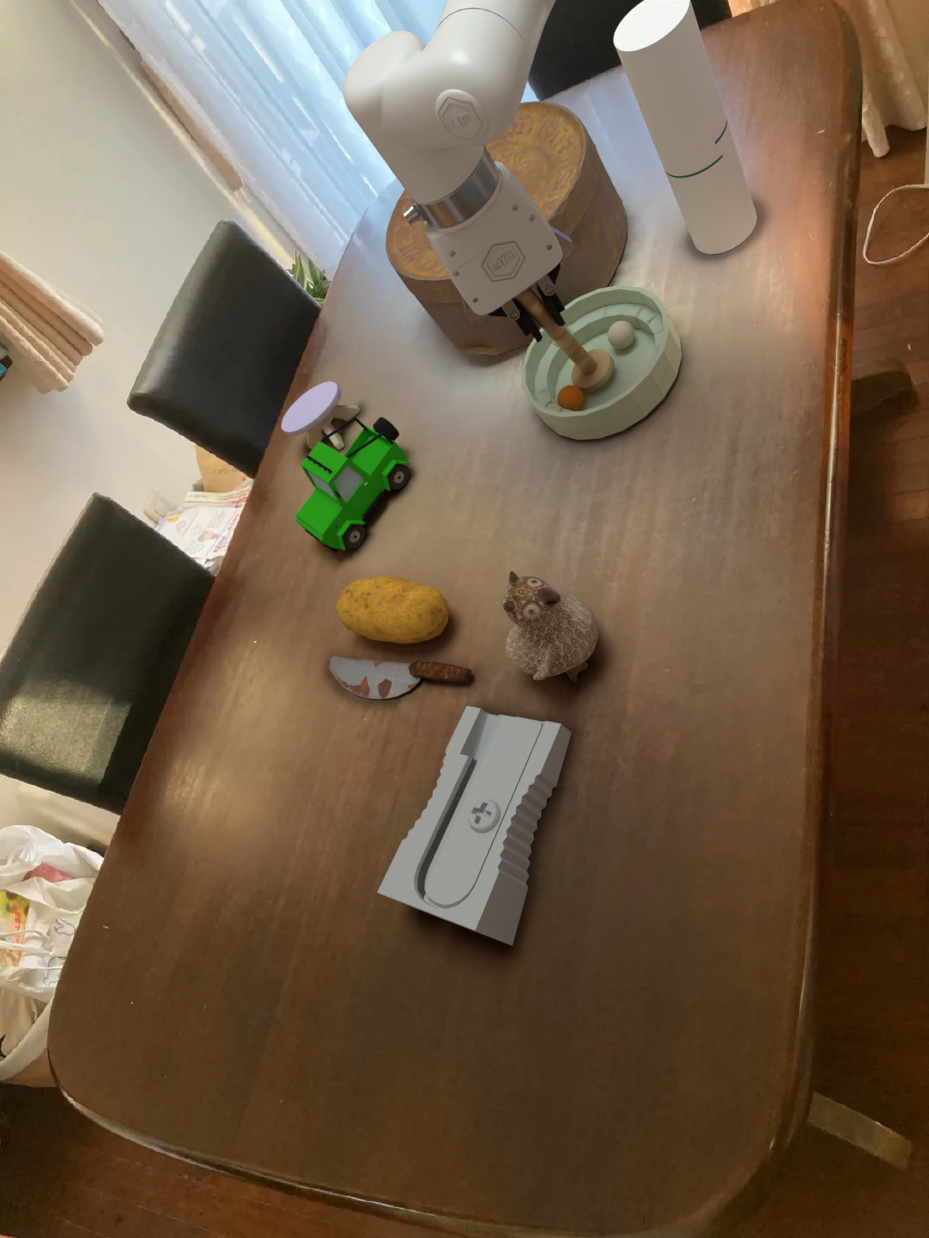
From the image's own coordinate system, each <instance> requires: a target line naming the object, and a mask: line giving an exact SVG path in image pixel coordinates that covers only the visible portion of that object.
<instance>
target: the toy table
mask: <svg viewBox="0 0 929 1238" xmlns="http://www.w3.org/2000/svg"><path fill="white" fill-rule="evenodd" d="M341 396H342V389H341V387H340V386H339V385H338V383H336V382H334V381H325V382H321V383H319V384H317V385H315V386H313V387H311V388H309V389H308V390H307V391H305V392H304V393H303V394H302V395H300V397H299V398H297V400H295V402H293V403H292V404H291V405H290V407H289V408H288V409H287V410H286V412H285V414H284V415H283V418H282V420H281V424H280V425H281V430H282V431H283V432H284V433H285V434H287V435H288V436H291V437H294V436H295V437H296V436H299V435H302V434H304V433H307V434H306V436H307V437H306V444H307V446H308V448H309V449H311V450H312V449H313V448H314V447H315V446H316V444H317V443H318V442H319V441H321V440H322V438H324V437H325V435H324V434H323V432H324V433H325V434H326V436H327V435H328V434H330V433H331V432H333V431H334V430H336V429H335V427H334V426H333V425H332V424H331V423H332V421H333V420H334V419H341V420H343V421H345V422H348V421H350V420H351V419H353V418H355V417H356V416H357V415H358V414H359V413H360V412H361V410H360V408H359V406H358V405H357V404H353V403H346V404H338V403H339V401H340V399H341ZM322 430H323V432H322ZM328 439H329V440H330V442H331V443H332V444H333V445H334V447H335V448H336V450H339V451H340V450H342V449H343V448H344V447H345V444H344V441H343V439H342V436H341V435H340V434H339V433H338V432H337V433H335V434H334V435H332V436H331V437H329V438H328Z"/></svg>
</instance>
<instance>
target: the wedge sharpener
mask: <svg viewBox="0 0 929 1238" xmlns="http://www.w3.org/2000/svg"><path fill="white" fill-rule="evenodd" d="M571 736H572V732H571V731H570V730H569V729H568V728H567V727H566V726H564V725H563V724H562V723H561V722H560V723H559V722H553V721H549V720H545V721H541V720H536V719H530V718H525V717H520V716H510V715H505V714H498V715H496V714H492V713H489V712H487V711H485V710H483V709H482V708H480V707H475V706H469V705H466V706H465V709H464V710H463V713H462V714H461V717H460V718H459V721H458V723H457V725H456V727H455V729H454V731H453V733H452V735H451V738H450V740H449V742H448V744H447V746H446V749H445V756H444V758H443V759H442V763H443V766H442V767H441V768H440V770H439V772H440V776H439V777H438V779H437V780H436V787H435V788H434V789H433V790H432V797H431V798H430V799H428V801H427V806H426V807H425V809H423V810H422V812H421V815H420V818H418V819H417V820H416V821H414V825H413V828H411V829H409V830H408V832H407V836H406V837H405V838H404V839H402V840H401V843H400V844H399V847H398V848H397V850H396V852H395V855H394V857H393V859H392V861H391V863H390V865H389V867H388V869H387V871H386V873H385V875H384V877H383V879H382V881H381V884H380V886H379V887H378V890H377V892H376V893H377V894H379V895H381V896H384V897H386V898H389V899H391V900H394V901H396V902H400V903H402V904H404V905H407V906H409V907H411V908H414V909H415V910H419V911H421V912H424V913H427V914H429V915H432V916H434V917H436V918H439V919H442V920H445V921H446V922H450V923H452V924H455V925H456V926H457V925H458V926H460V927H463V928H464V929H468V930H470V931H472V932H476V933H479V934H481V935H483V936H486V937H488V938H491V939H494V940H495V941H499V942H501V943H503V944H506V945H509V946H512V947H513V945H514V941H515V937H516V934H517V930H518V927H519V923H520V920H521V915H522V912H523V908H524V904H525V901H526V897H527V894H528V890H529V886H528V884H527V881H528V880H529V877H530V874H529V872H528V870H529V867H530V865H531V862H530V860H529V857H530V855H532V852H533V851H532V847H531V845H532V844H533V842H534V841H535V837H534V836H535V835H534V833H535V832H536V831H537V829H538V821H539V820H540V819H541V818H542V810H543V809H545V808H546V807H547V803H548V802H547V801H548V799H549V798H551V797H552V795H553V794H552V793H553V789H554V788H556V787H557V785H558V783H559V778H560V774H561V771H562V768H563V764H564V761H565V757H566V754H567V750H568V746H569V743H570V739H571Z"/></svg>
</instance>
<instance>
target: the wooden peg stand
mask: <svg viewBox="0 0 929 1238" xmlns="http://www.w3.org/2000/svg"><path fill="white" fill-rule="evenodd" d="M514 298H515V299H516V300H517V301H518V302H519V304H520V305H521V306H522V307H523V308H524V309H525V310H526V311H527V312H528V313H529V314H530V316H531V317H532V318H533V319H534V320H535V321H536V322H537V323H538V324H539V325H540V326H541V328H542V329H543V330H544V331H545V332H546V333H547V334H548V335H549V336H550V337H551V338H552V340H553V341H554V342H555V343H556V344H557V345H558V346H559V347H560V348H561V349H562V350H563V352H564V353H565V354H566V355H567V356H568V357H569V358H570V359H571V360H572V361H573V362H574V364H575V365H574V367H573V369H572V373H571V380H572V383H573V384H574V385H575V386H577V387H579V388H580V389H581V390H582V392H586V393H588V392H593V391H596V390H598V389H599V388H601V387H602V386H603V385H605V384H606V383H607V381H608V380H609V379H610V377H611V375H612V373H613V370H614V361H613V358H612V357H611V356H610V355H609V353H608V352H607V351H605V350H603V349H594V350H591V351H588V352H587V351H586V350H585V349H584V348H583V347H582V346H581V344H580V343H579V342H578V341H577V340H576V339H575V338H574V336H573V335H572V334H571V333H570V332H569V331H568V330H567V329H566V327H565V326H564V325H563V326H562V327H561V326H560V327H559V326H558V324H557V323H556V321H555V319H554V318H553V316H552V315H551V313H550V312H549V310H548V308H547V307H546V305H545V304H544V302H543V301H542V300H541V299H540V298H539V297H538V296H537V294H536V293H535V292H534V291H533V290H532V289H531V288H530V287H528V288H526V289H525V290H524V291H522V292H521V293H519V294H518V295H517V296H515V297H514Z"/></svg>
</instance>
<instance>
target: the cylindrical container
mask: <svg viewBox="0 0 929 1238" xmlns="http://www.w3.org/2000/svg"><path fill="white" fill-rule="evenodd" d="M613 45H614V47H615V50H616V52H617V55H618V57H619V60H620V62H621V65H622V67H623V70H624V72H625V75H626V77H627V80H628V82H629V85H630V87H631V90H632V92H633V95H634V97H635V100H636V102H637V105H638V108H639V111H640V112H641V115H642V118H643V120H644V122H645V125H646V128H647V130H648V133H649V136H650V138H651V140H652V142H653V145H654V147H655V150H656V153H657V155H658V158H659V160H660V162H661V165H662V168H663V170H664V173H665V175H666V178H667V180H668V183H669V185H670V188H671V190H672V193H673V196H674V198H675V200H676V203H677V205H678V208H679V210H680V213H681V215H682V218H683V221H684V223H685V226H686V228H687V230H688V233H689V235H690V238H691V240H692V243H693V245H694V248H695V249H696V250H697V251H698V252H700V253H702V254H706V255H715V254H717V255H718V254H722V253H726V252H728V251H731V250H732V249H734V248H736V247H738V246H739V245H741V244H742V243H744V242H745V241H746V240H747V239H748V238H749V237H750V235H752V233H753V232H754V229H755V228H756V225H757V222H758V221H757V220H758V217H757V211H756V208H755V205H754V202H753V198H752V195H751V192H750V189H749V186H748V182H747V179H746V176H745V173H744V169H743V167H742V162H741V160H740V156H739V154H738V153H739V152H738V150H737V147H736V143H735V140H734V137H733V134H732V130H731V128H730V123H729V121H728V117H727V114H726V112H725V111H726V110H725V107H724V105H723V101H722V98H721V95H720V92H719V89H718V86H717V85H718V84H717V82H716V79H715V76H714V73H713V72H714V71H713V68H712V66H711V64H710V63H711V62H710V60H709V55H708V53H707V50H706V47H705V43H704V41H703V37H702V33H701V30H700V27H699V24H698V20H697V17H696V14H695V11H694V8H693V4H692V1H691V0H642V1H641V2H639V3H638V4H637V5H635V6H634V7H633V8H632V9H631V10H630V11H628V13H627V14H626V15H624V17H623V18H622V19H621V21H620V22H619V23H618V26H617V27H616V29H615V31H614V34H613Z"/></svg>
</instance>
